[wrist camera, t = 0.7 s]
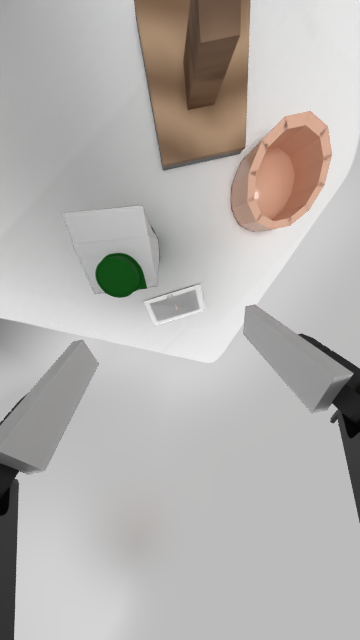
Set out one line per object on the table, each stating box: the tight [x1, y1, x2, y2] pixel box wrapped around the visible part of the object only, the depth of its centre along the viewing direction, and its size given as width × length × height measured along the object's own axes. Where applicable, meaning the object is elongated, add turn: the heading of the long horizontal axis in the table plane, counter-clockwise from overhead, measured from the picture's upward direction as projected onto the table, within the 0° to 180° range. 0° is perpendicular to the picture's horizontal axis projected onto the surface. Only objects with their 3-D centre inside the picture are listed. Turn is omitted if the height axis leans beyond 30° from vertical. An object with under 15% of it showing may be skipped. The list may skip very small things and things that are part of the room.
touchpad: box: [144, 284, 206, 326], centre depth 37 cm, size 8×15×2 cm, turn 106°
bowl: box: [231, 111, 332, 232], centre depth 25 cm, size 13×13×6 cm
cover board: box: [134, 0, 250, 168], centre depth 17 cm, size 14×14×9 cm
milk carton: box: [61, 205, 160, 298], centre depth 22 cm, size 9×9×20 cm
